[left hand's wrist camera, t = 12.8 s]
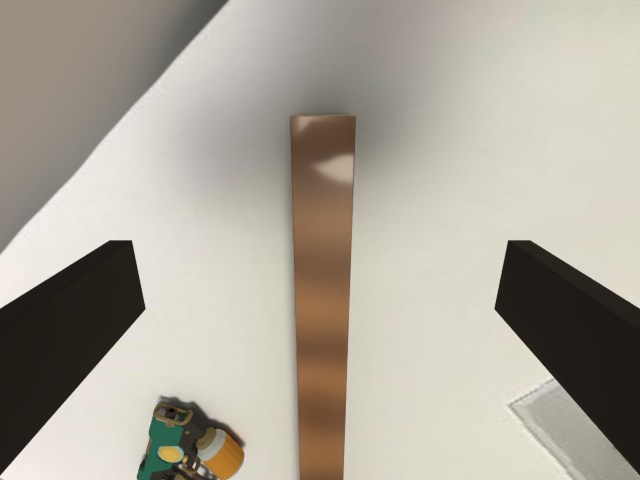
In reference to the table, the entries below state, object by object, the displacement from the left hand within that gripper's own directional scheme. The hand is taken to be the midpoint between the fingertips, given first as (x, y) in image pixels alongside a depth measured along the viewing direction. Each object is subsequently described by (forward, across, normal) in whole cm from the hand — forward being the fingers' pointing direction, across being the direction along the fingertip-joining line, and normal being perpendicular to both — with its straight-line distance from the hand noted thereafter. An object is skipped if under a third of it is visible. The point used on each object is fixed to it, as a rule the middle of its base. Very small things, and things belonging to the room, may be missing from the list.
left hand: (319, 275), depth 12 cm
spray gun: (+24, -18, -39) cm, 50 cm away
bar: (+24, 0, -35) cm, 43 cm away
